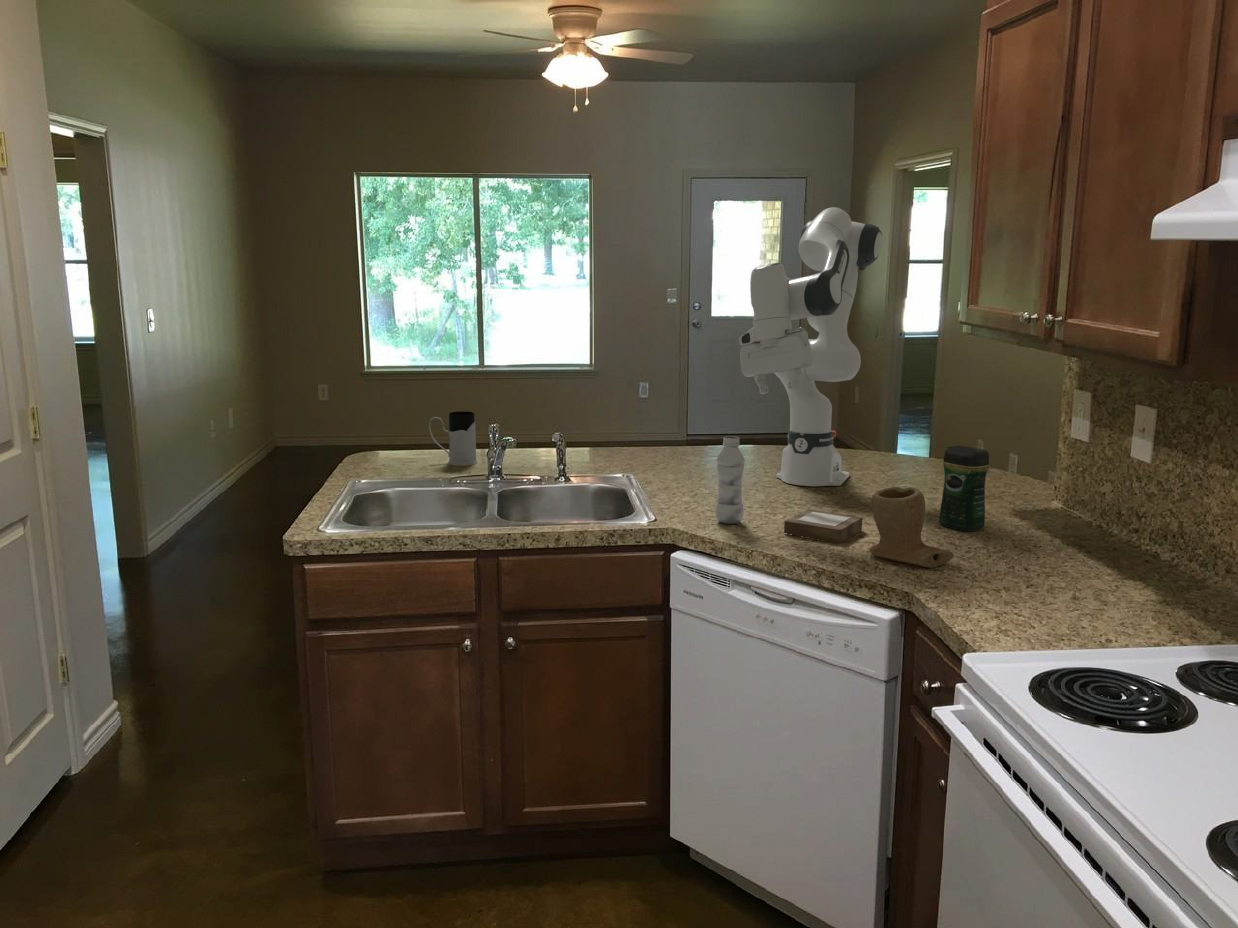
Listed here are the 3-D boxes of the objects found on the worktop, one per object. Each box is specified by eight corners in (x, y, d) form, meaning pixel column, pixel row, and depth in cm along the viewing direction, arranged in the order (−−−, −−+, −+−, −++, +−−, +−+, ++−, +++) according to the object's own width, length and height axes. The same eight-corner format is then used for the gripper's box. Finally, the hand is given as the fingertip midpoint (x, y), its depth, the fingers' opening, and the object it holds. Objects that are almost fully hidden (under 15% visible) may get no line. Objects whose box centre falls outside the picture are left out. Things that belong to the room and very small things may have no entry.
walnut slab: (807, 521, 226) (808, 508, 225) (861, 530, 219) (862, 516, 218) (784, 534, 216) (784, 520, 215) (839, 543, 208) (840, 529, 208)
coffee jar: (990, 529, 221) (997, 448, 217) (967, 534, 217) (974, 452, 213) (955, 519, 229) (961, 442, 225) (932, 524, 225) (938, 445, 221)
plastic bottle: (725, 528, 220) (727, 441, 216) (709, 521, 226) (711, 436, 222) (749, 524, 223) (751, 438, 219) (732, 518, 229) (734, 434, 225)
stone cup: (855, 558, 198) (859, 486, 195) (889, 547, 206) (894, 478, 203) (920, 576, 187) (926, 500, 184) (954, 564, 194) (960, 491, 191)
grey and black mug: (475, 465, 287) (474, 415, 284) (427, 465, 287) (425, 415, 284) (479, 460, 295) (478, 411, 292) (433, 459, 295) (431, 410, 292)
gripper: (815, 325, 221) (821, 386, 221) (752, 339, 238) (758, 395, 238) (796, 325, 217) (802, 387, 218) (733, 339, 234) (739, 396, 234)
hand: (778, 391), depth 228 cm, fingers open, 8 cm apart
